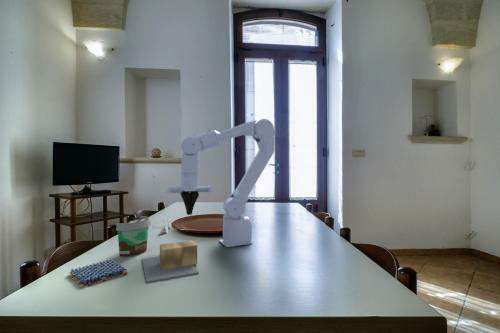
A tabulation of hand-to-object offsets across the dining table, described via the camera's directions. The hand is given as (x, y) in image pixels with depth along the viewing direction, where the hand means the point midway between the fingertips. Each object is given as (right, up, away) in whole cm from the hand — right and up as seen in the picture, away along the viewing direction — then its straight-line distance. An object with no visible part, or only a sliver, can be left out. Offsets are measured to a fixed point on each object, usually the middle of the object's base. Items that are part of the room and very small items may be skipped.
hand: (189, 214), depth 88 cm
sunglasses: (-17, -11, +20) cm, 28 cm away
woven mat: (-17, -11, -24) cm, 31 cm away
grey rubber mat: (-1, -11, -18) cm, 21 cm away
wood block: (+5, -8, -15) cm, 18 cm away
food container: (-14, -11, -7) cm, 19 cm away
